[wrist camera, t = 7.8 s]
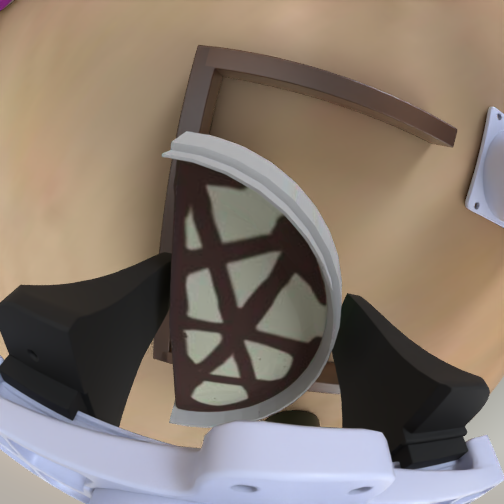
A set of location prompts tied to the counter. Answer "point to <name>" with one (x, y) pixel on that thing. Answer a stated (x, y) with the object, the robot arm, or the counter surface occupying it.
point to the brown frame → (297, 80)
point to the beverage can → (5, 3)
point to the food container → (245, 285)
